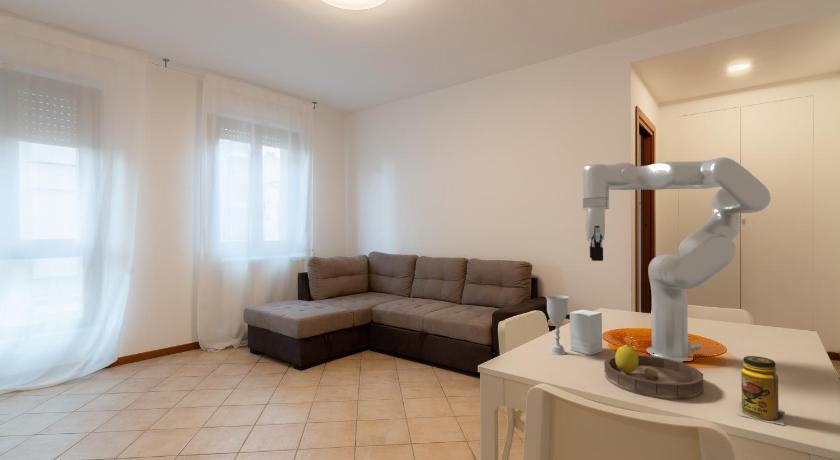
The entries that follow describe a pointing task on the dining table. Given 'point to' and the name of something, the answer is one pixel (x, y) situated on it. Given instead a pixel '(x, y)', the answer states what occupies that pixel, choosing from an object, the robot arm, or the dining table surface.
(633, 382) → the groove tray
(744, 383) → the condiment
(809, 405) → the dining table surface
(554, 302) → the chalice
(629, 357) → the lemon
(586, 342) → the supplement box
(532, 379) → the dining table surface
